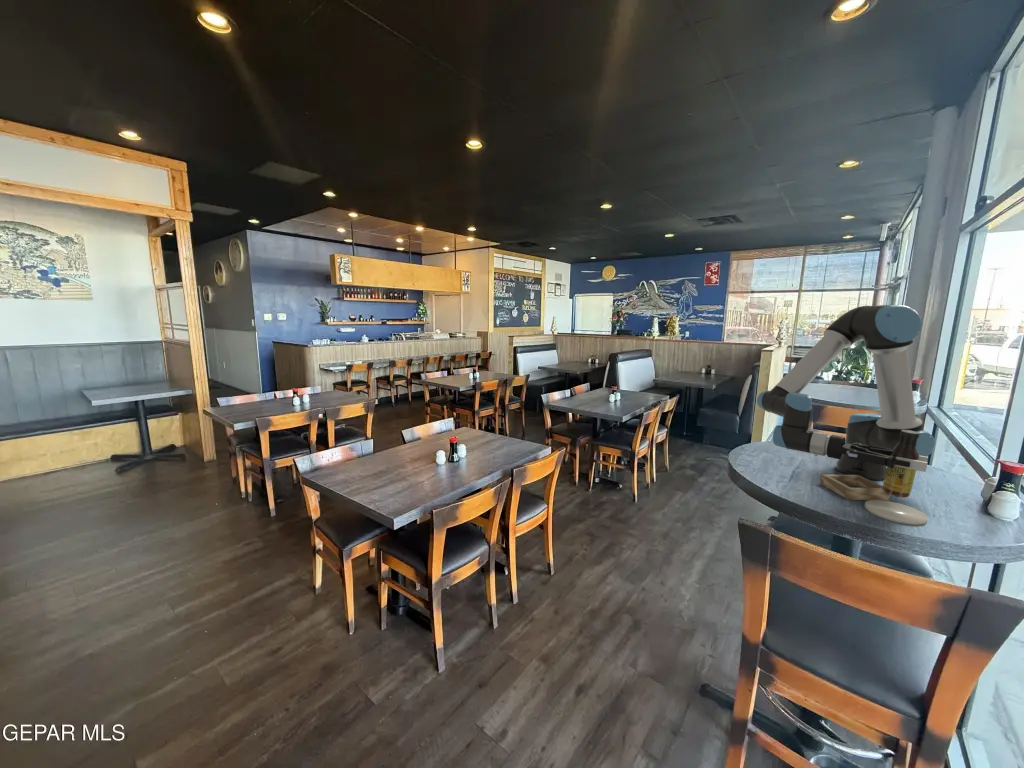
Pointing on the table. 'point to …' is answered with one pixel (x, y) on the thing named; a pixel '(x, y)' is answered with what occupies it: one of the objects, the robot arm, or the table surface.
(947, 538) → the table surface
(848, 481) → the tray
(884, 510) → the saucer
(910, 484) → the sauce bottle
